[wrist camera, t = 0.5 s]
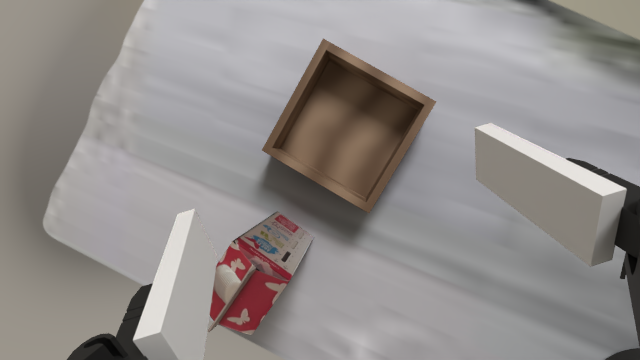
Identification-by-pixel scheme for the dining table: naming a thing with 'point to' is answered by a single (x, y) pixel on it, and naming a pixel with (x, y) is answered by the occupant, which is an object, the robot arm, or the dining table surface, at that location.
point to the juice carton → (256, 272)
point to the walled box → (348, 125)
